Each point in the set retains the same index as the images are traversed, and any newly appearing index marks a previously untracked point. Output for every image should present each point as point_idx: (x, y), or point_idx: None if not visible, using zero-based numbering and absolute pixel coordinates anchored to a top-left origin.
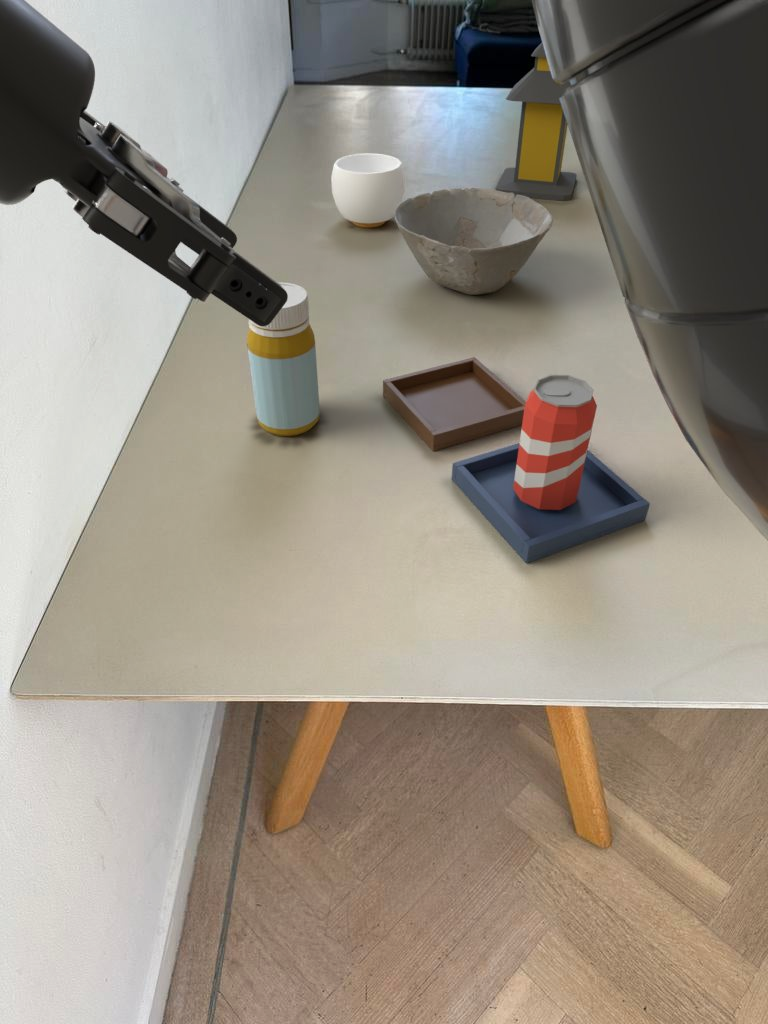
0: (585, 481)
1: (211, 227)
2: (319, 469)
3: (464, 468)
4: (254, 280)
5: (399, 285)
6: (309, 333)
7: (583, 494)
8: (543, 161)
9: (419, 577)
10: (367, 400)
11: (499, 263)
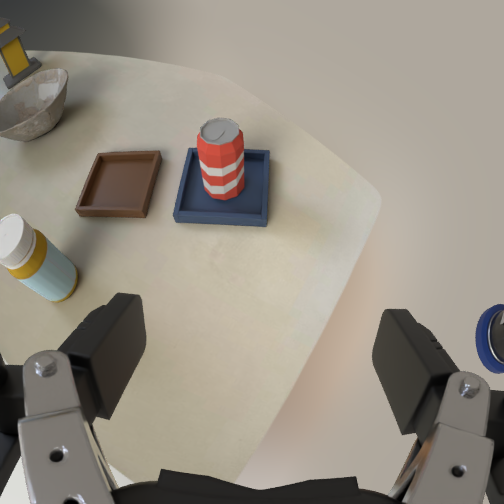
0: None
1: (123, 331)
2: (114, 290)
3: (182, 211)
4: (447, 354)
5: (14, 158)
6: (38, 233)
7: None
8: (20, 61)
9: (243, 286)
10: (77, 227)
11: (59, 104)
